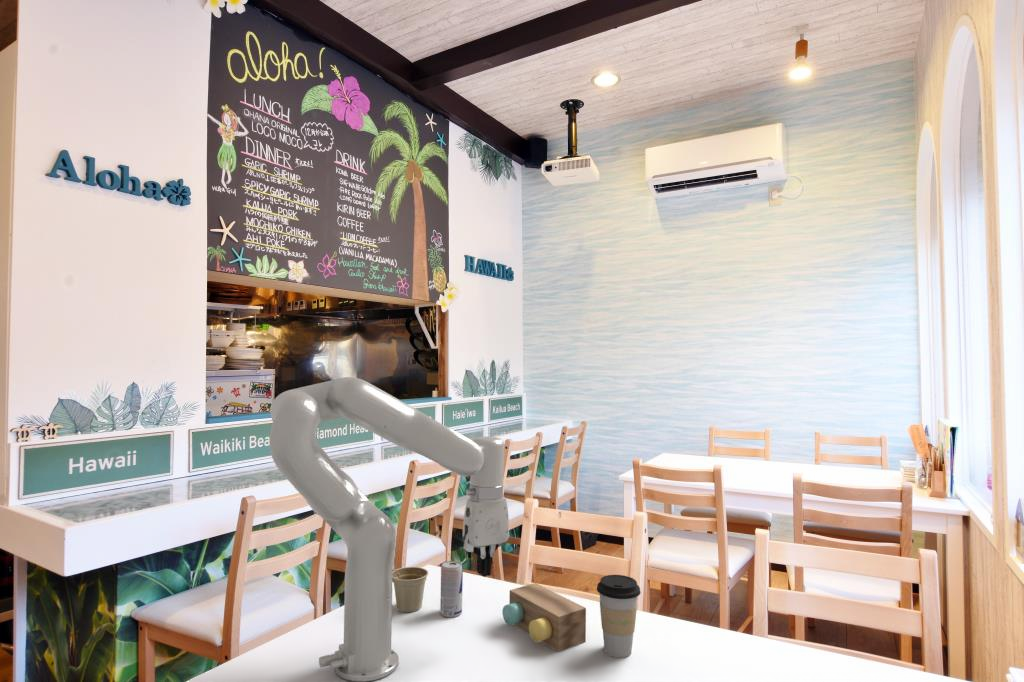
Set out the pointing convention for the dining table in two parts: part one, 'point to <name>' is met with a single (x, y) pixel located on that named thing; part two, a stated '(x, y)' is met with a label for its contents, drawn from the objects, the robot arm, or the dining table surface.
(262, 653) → the dining table surface
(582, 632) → the block
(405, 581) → the flower pot
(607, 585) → the coffee cup
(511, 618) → the knob
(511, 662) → the dining table surface
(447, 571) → the energy drink
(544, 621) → the knob
